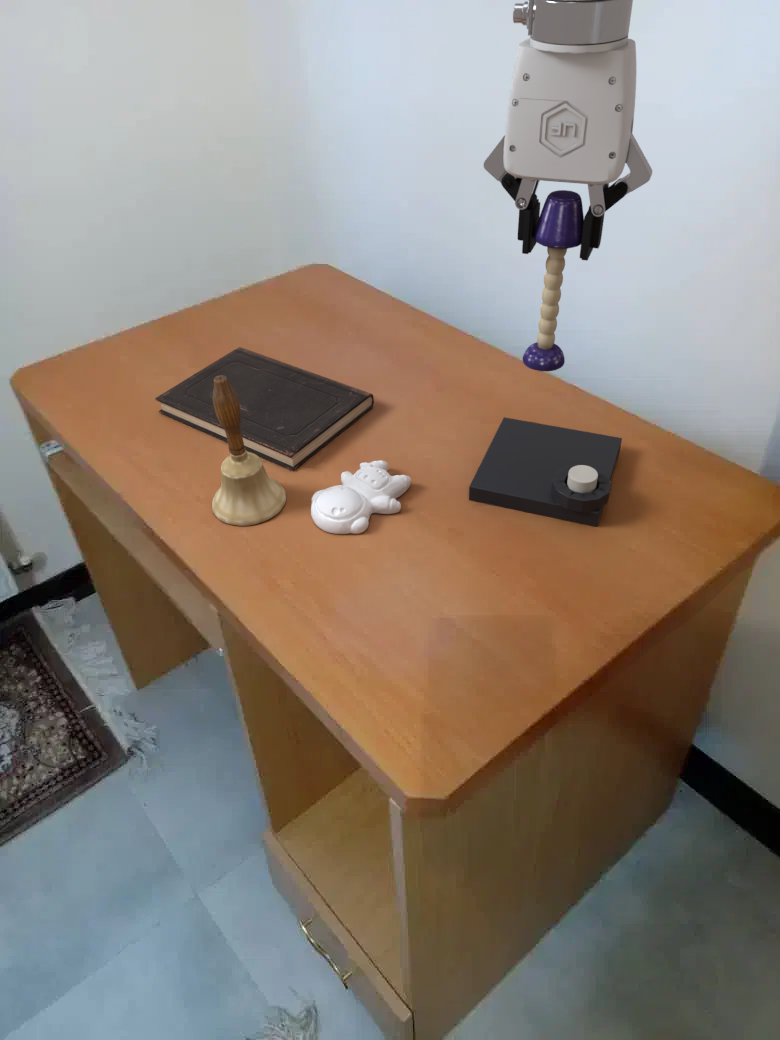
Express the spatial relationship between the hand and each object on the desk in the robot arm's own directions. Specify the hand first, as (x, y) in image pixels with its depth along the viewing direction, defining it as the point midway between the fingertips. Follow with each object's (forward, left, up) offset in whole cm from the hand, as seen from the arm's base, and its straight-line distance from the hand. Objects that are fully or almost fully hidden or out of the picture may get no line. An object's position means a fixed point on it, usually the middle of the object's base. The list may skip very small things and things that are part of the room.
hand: (557, 249), depth 73 cm
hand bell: (+29, +15, -26) cm, 42 cm away
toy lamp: (0, 0, -12) cm, 12 cm away
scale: (-1, 0, -26) cm, 26 cm away
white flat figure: (+17, +11, -26) cm, 33 cm away
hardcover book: (+36, -2, -26) cm, 44 cm away
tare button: (-6, +5, -23) cm, 24 cm away
